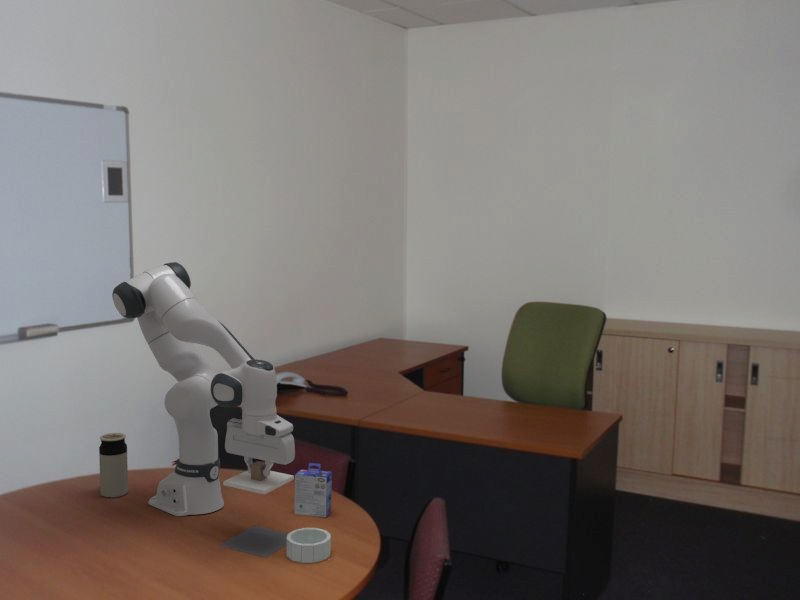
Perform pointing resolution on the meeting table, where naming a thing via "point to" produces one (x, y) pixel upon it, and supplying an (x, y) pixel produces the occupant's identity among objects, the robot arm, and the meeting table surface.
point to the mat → (257, 541)
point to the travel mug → (113, 465)
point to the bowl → (308, 545)
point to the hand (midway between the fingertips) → (259, 474)
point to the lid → (258, 479)
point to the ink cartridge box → (313, 492)
